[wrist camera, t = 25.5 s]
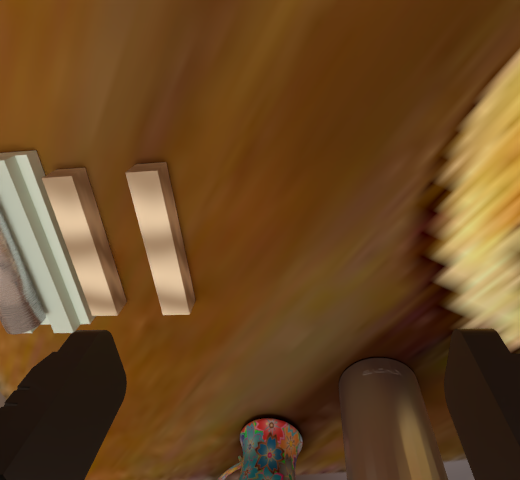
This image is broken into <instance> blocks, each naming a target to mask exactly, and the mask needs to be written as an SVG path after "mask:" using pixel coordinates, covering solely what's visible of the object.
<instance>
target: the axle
mask: <svg viewBox="0 0 520 480" xmlns="http://www.w3.org/2000/svg"><path fill="white" fill-rule="evenodd" d="M45 318H46V312H45V310H44V308H43V306H42V303H41V301H40V299H39V296H38V294H37V292H36V289H35V287H34V285H33V283H32V280H31V278H30V276H29V273H28V271H27V269H26V266H25V264H24V262H23V260H22V257H21V255H20V253H19V250H18V248H17V246H16V243H15V241H14V239H13V237H12V234H11V232H10V230H9V227H8V225H7V223H6V221H5V218H4V216H3V214H2V211H1V209H0V320H1V322H2V324H3V326H4V328H5V330H6V332H7V333H9V334H21V333H25V332H28V331H30V330H32V329H34V328H36V327H37V326H39V325H40V324H41V323H42V322H43V321H44V320H45Z"/></svg>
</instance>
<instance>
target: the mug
mask: <svg viewBox="0 0 520 480" xmlns="http://www.w3.org/2000/svg"><path fill="white" fill-rule="evenodd" d="M240 442H241V445H242V449H243V458H242V457H241V456H238V459H239V460H240V462H239V463H238V464H236V465H234V466H233V467H231V468H229V469H228V470H227V471H226V472H224V473H223V474H222V475H221V476H220V477H219V478H218V480H224V479H225V478H226V477H227V476H228V475H230V474H231V473H232V472H234V471H236V470H237V469H239V468H241V467H242V470H241V474H240V477H239V480H295V467H296V460H297V457H298V454H299V452H300V451H301V448H302V445H303V441H302V437H301V435H300V433H299V432H298V430H297V429H296V428H295V427H293V426H292V425H290V424H289V423H287V422H285V421H282V420H278V419H272V418H263V419H257V420H254V421H252V422H250V423H248V424H247V425H246V426H245V427H244V428H243V429H242V431H241V433H240Z"/></svg>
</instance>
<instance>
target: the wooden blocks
mask: <svg viewBox="0 0 520 480" xmlns="http://www.w3.org/2000/svg"><path fill="white" fill-rule="evenodd" d="M126 177H127V180H128V184H129V188H130V192H131V196H132V199H133V203H134V207H135V211H136V215H137V218H138V222H139V226H140V230H141V234H142V237H143V241H144V245H145V249H146V252H147V256H148V260H149V264H150V268H151V271H152V275H153V279H154V283H155V287H156V290H157V294H158V298H159V302H160V306H161V309H162V313H163V315H189V314H190V313H191V310H192V308H193V305H194V303H195V296H194V291H193V286H192V282H191V277H190V272H189V267H188V263H187V258H186V253H185V249H184V244H183V239H182V234H181V230H180V225H179V220H178V215H177V211H176V206H175V201H174V196H173V192H172V187H171V182H170V178H169V173H168V168H167V163H166V162H162V163H147V164H136V165H134V166H133V167H132V168H131V169H129V170H128V171H127V172H126ZM42 181H43V183H44V186H45V189H46V191H47V194H48V197H49V200H50V202H51V205H52V208H53V210H54V213H55V216H56V219H57V221H58V224H59V227H60V230H61V232H62V235H63V238H64V240H65V243H66V246H67V249H68V251H69V254H70V257H71V259H72V262H73V265H74V268H75V270H76V273H77V276H78V278H79V281H80V284H81V287H82V289H83V292H84V295H85V297H86V300H87V303H88V306H89V308H90V311H91V314H92V316H107V315H118V314H119V313H120V311H121V310H122V308H123V306H124V305H125V303H126V302H127V301H126V298H125V294H124V291H123V288H122V285H121V282H120V278H119V275H118V272H117V269H116V265H115V262H114V259H113V256H112V253H111V249H110V246H109V243H108V240H107V237H106V233H105V230H104V227H103V224H102V220H101V217H100V214H99V211H98V208H97V204H96V201H95V198H94V195H93V191H92V188H91V185H90V182H89V179H88V175H87V172H86V169H85V168H72V169H57V170H55V171H53V172H51V173H50V174H48V175H46V176H44V177H42Z"/></svg>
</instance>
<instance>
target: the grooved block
mask: <svg viewBox="0 0 520 480" xmlns="http://www.w3.org/2000/svg"><path fill="white" fill-rule="evenodd" d="M44 176H45V173H44V171H43V168H42V165H41V162H40V159H39V157H38V154H37V151H36V150H34V151H21V152H7V153H0V209H1V211H2V214H3V216H4V218H5V221H6V223H7V225H8V227H9V230H10V232H11V234H12V237H13V239H14V241H15V243H16V246H17V248H18V250H19V253H20V255H21V257H22V260H23V262H24V264H25V266H26V269H27V271H28V273H29V276H30V278H31V280H32V283H33V285H34V287H35V289H36V292H37V294H38V296H39V299H40V301H41V303H42V306H43V308H44V310H45V312H46V318H45V320H44V321H43V322H42V323H41V324H51V326H52V329H53V331H54V333H73V332H75V331H76V329H77V328H78V327H79V325H80V324H90V323H91V322H92V321H93V319H94V318H95V317H96V316H92V314H91V311H90V308H89V306H88V303H87V300H86V297H85V295H84V292H83V289H82V287H81V284H80V281H79V278H78V276H77V273H76V270H75V268H74V265H73V262H72V259H71V257H70V254H69V251H68V249H67V246H66V243H65V240H64V238H63V235H62V232H61V230H60V227H59V224H58V221H57V219H56V216H55V213H54V210H53V208H52V205H51V202H50V200H49V197H48V194H47V191H46V189H45V186H44V183H43V181H42V177H44ZM37 327H38V326H37ZM37 327H36V328H37ZM36 328H34V329H32V330H30V331H28V332H25V333H32V332H33V331H34V330H35V329H36Z"/></svg>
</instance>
